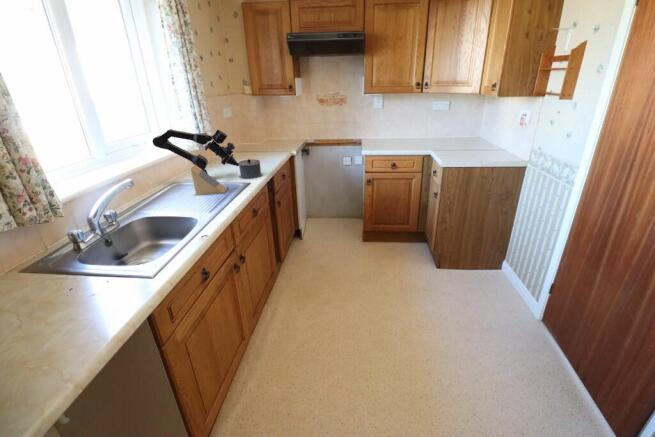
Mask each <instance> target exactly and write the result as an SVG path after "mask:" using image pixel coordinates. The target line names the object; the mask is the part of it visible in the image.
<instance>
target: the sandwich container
mask: <svg viewBox="0 0 655 437" xmlns="http://www.w3.org/2000/svg"><path fill="white" fill-rule="evenodd" d="M190 173H191V178H192V182H193V187H194V191H195V195H196V196H201V195H217V194H225V193H226V192H227V189H228V187H227V186H225V185H223V184H222V183H221V182H219V181H218V180H217V179H215V178H213V176H211V175H210V174H207V173H208V172H207V173H206V172H204V171H203V170H202V169H200V168H199V167H198V166H197V165H194V164H193V166H192V167H190Z"/></svg>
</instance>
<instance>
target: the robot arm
mask: <svg viewBox="0 0 655 437" xmlns="http://www.w3.org/2000/svg"><path fill="white" fill-rule="evenodd" d="M170 138H176V139H181V140H188V141H192V142H194V143H196V144H199V145H204V151H206V152H207V150H210V151H211V152H212V153H214V155H215V156H216V157H217V156H218V157H219V158H221V159H220V160H221V161H220V162H221V164H222V165H223V166H225V165H227V164H228V165H232V166H235V167H239V164H238V161H237V160H236V159H235V157H234V154H233V153H234V150H235V148H236V147H235V144H234V143H233V142H227V144H226V146H221V145H222V144H223V143H224V142H225V141H226V139H227V138H228V135H227V134H226V133H225V132H224V131H222V130H220V129H217V130H216V131H215V133H214V134H213V135H209V134H207V133H201V132H199V133H193V132H186V131H181V130H176V129H172V128H170V129H167V130H166V131H165V132H164V133H162V134H160V135H157V136H155V137H154V138H152V144H153V146H154V147H156V148H158V149H162V150H166V151H169V152H171V153H174V154H176V156H177V155H178V156H179V157H181V158H183V159H185V160H188V161H189V162H191V164H193V166H194V165H197V166H198V167H199V168H200V169H202V170H203V171H204V172H206V173H207V174H208V170H207V169H206V168H207V166H208V165H209V161H208V158H206V156H204V155H201V154H200V153H199V154H197V155H195V154H194V153H191V152H189V151H187V150H185V149H184V148H182V147H179V146H177V145H175V144H174V143H172V142H171V141H170V140H169V139H170ZM220 144H221V145H220ZM208 175H209V174H208Z"/></svg>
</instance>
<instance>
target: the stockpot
mask: <svg viewBox="0 0 655 437" xmlns="http://www.w3.org/2000/svg"><path fill="white" fill-rule="evenodd" d="M237 163H238V164H239V166H238V167H239V174H240V178H241V179H246V180H247V179H249V180H250V179H256V178H260V177H262V169H261V160H260V159H254V158H253V159H250V158H248V159H243V160H241V161H237Z"/></svg>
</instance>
